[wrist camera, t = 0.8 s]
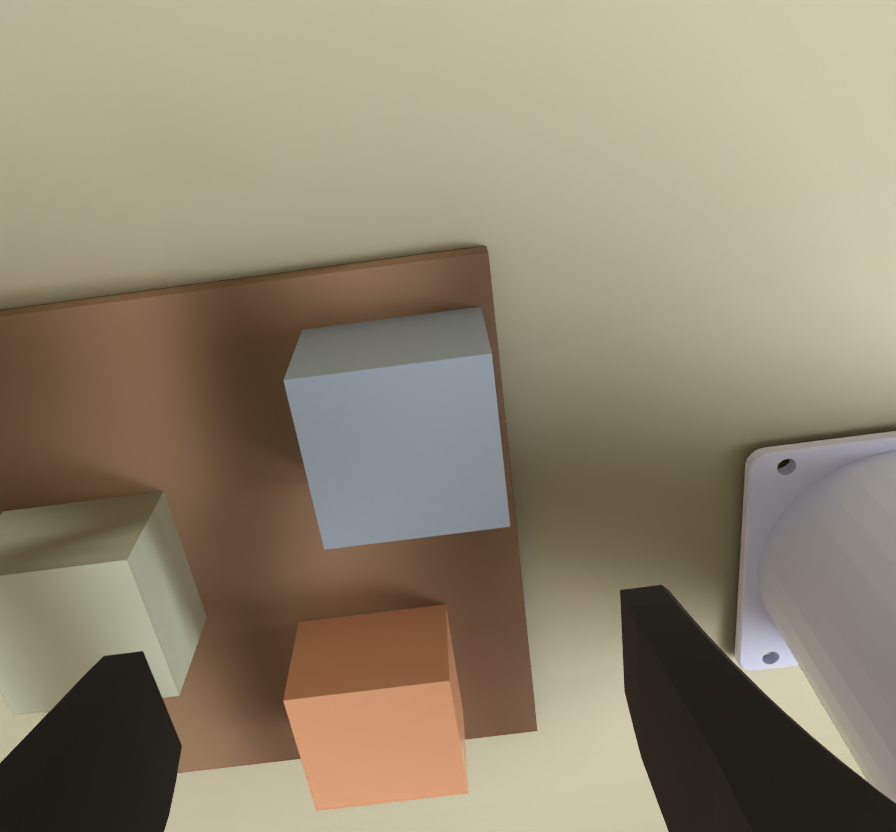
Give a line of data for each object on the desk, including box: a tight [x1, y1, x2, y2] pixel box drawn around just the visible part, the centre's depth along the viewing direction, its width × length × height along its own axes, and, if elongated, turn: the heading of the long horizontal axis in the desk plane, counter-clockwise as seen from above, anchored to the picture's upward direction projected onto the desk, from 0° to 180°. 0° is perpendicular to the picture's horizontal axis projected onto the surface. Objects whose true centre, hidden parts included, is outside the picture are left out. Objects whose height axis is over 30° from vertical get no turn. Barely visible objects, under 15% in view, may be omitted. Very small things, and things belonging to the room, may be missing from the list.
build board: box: [0, 246, 537, 773], centre depth 21 cm, size 15×16×4 cm
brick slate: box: [284, 307, 510, 550], centre depth 19 cm, size 4×4×3 cm
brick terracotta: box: [283, 604, 468, 811], centre depth 23 cm, size 4×4×3 cm
